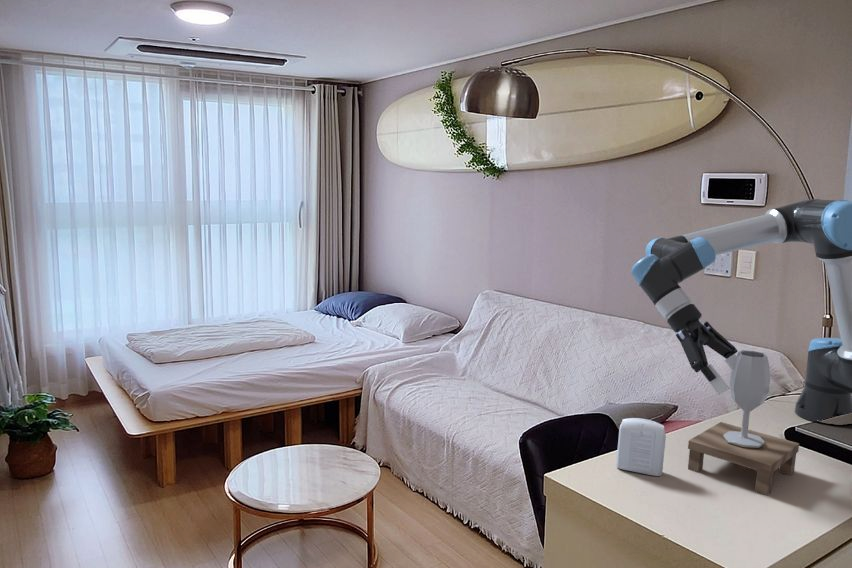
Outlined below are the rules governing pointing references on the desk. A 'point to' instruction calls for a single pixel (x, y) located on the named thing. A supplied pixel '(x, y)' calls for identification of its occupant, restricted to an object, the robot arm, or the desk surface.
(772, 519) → the desk surface
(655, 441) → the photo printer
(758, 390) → the wineglass
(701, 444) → the footstool
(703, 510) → the desk surface
